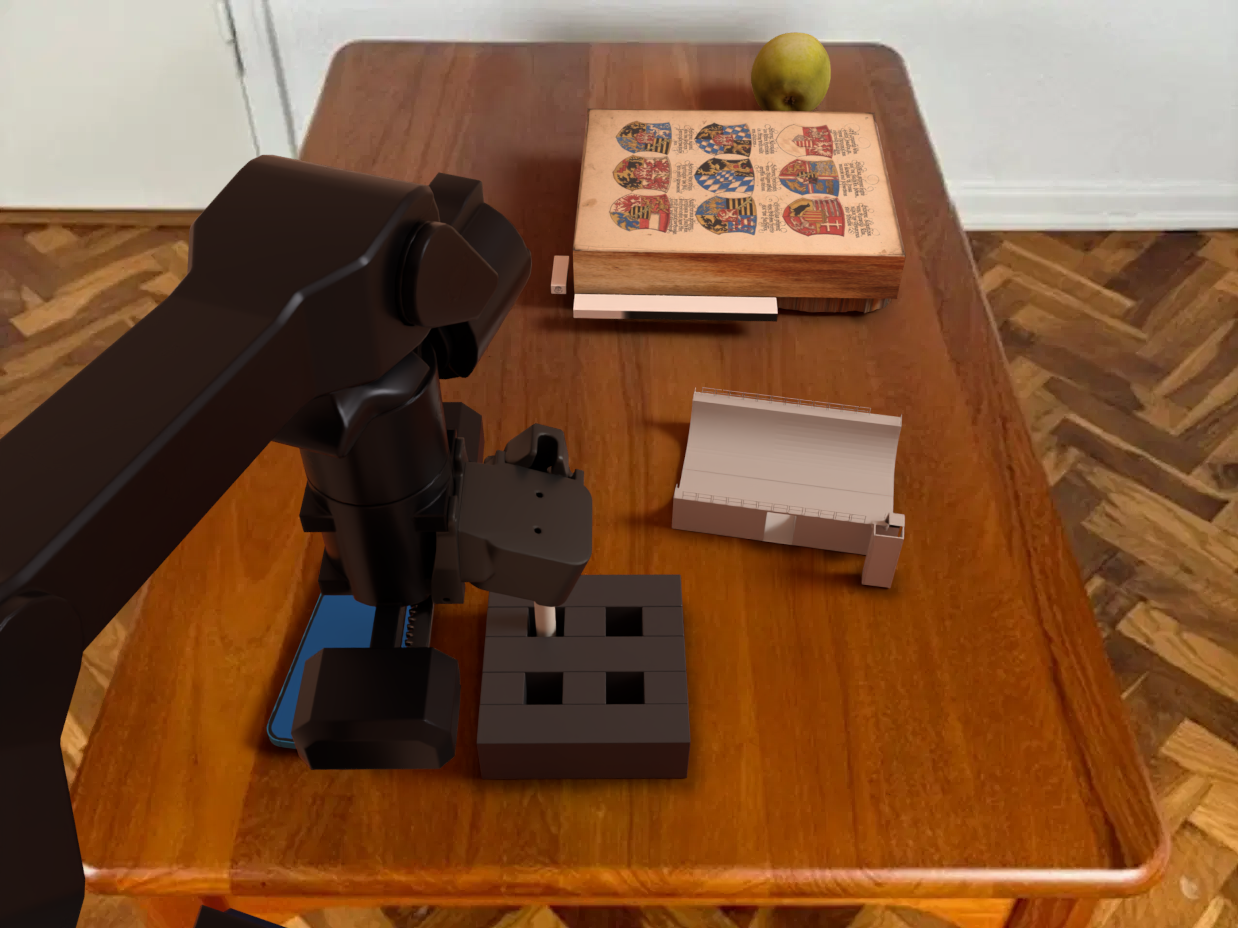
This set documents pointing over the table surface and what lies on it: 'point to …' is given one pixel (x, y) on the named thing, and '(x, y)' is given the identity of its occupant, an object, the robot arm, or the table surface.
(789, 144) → the book
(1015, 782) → the table surface
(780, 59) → the apple
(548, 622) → the stylus
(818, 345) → the table surface
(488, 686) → the pen stand
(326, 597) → the smartphone
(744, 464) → the skate ramp
